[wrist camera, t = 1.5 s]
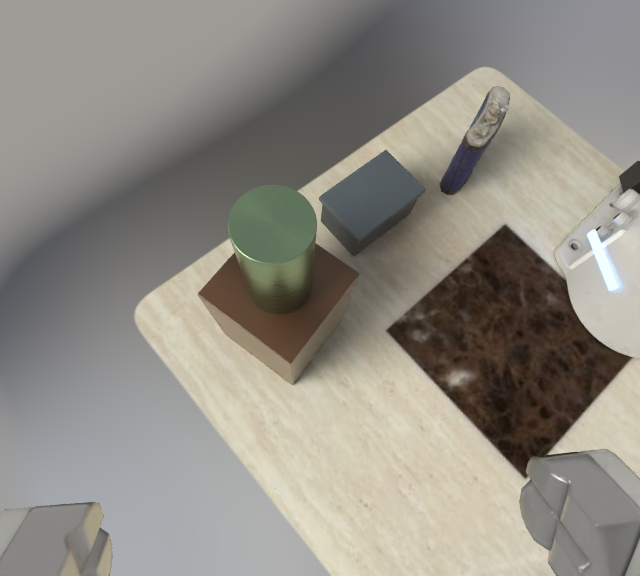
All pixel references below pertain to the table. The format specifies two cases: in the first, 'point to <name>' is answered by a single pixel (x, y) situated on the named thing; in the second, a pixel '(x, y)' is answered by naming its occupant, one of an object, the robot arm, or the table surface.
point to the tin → (274, 246)
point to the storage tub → (369, 202)
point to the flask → (476, 140)
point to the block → (281, 329)
